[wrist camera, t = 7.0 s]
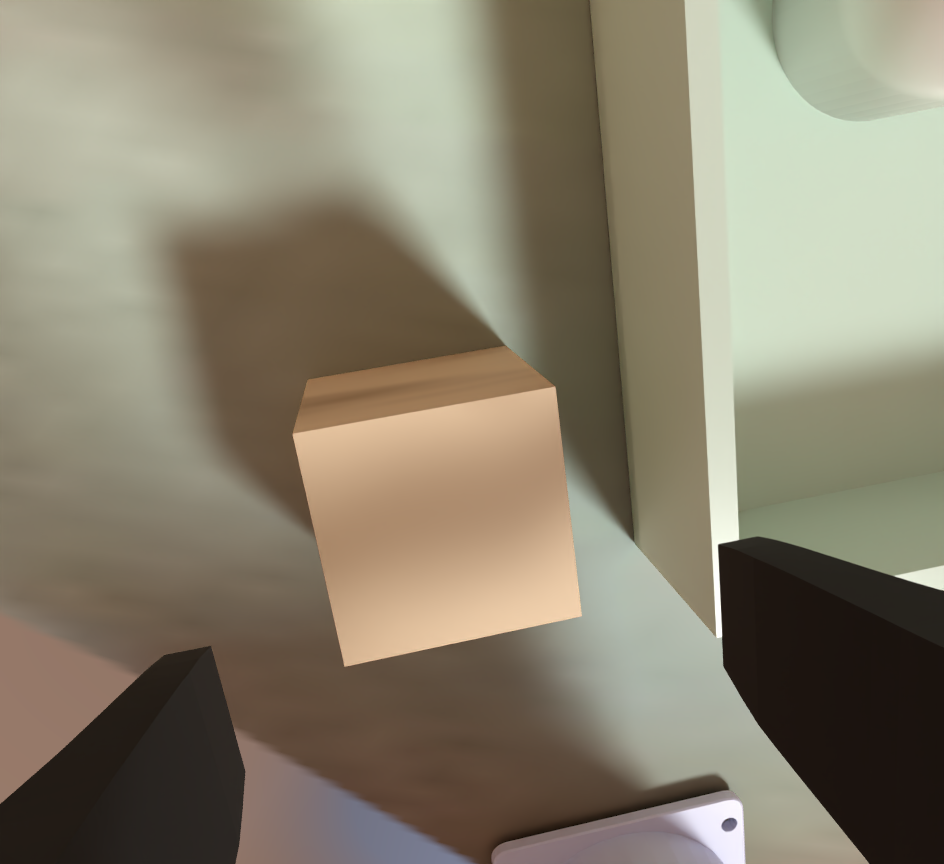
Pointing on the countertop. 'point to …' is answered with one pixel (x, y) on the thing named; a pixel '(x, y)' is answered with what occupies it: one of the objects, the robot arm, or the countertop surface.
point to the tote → (768, 302)
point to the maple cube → (438, 501)
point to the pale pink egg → (862, 55)
